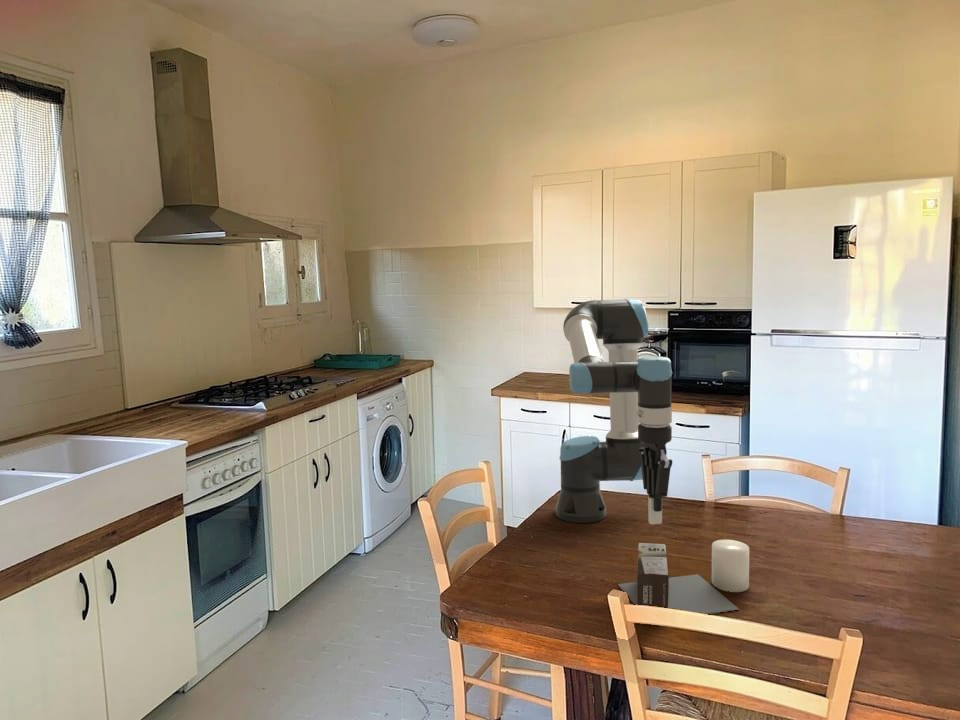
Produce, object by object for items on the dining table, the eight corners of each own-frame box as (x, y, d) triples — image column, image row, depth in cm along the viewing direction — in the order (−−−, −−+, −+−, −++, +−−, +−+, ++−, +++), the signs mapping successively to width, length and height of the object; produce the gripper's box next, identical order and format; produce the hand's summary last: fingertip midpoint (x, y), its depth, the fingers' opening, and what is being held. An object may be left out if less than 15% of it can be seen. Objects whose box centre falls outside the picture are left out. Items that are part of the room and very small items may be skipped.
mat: (618, 585, 151) (618, 584, 150) (697, 575, 154) (697, 574, 154) (650, 622, 134) (650, 620, 134) (738, 610, 137) (738, 608, 137)
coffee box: (637, 542, 152) (637, 571, 136) (665, 543, 150) (668, 573, 135) (637, 579, 153) (637, 613, 137) (665, 581, 151) (668, 615, 136)
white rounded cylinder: (705, 578, 153) (705, 541, 152) (736, 574, 154) (736, 538, 153) (723, 594, 145) (723, 555, 144) (756, 589, 146) (756, 551, 145)
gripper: (627, 419, 155) (628, 515, 158) (651, 431, 142) (652, 534, 145) (657, 417, 156) (657, 512, 159) (683, 428, 144) (683, 531, 146)
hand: (655, 522), depth 152 cm, fingers closed
